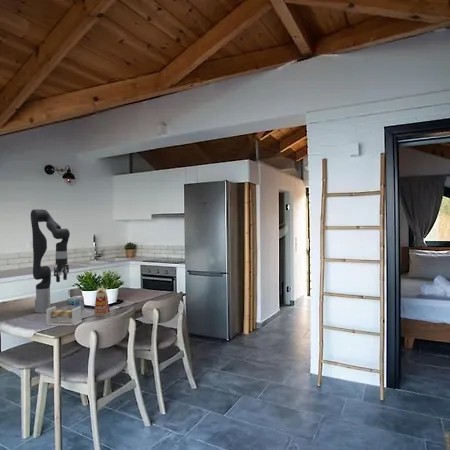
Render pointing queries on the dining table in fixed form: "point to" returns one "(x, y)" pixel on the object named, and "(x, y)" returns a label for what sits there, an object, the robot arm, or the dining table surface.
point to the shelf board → (62, 313)
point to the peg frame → (63, 320)
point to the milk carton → (101, 303)
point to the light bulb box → (75, 302)
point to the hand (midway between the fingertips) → (61, 280)
